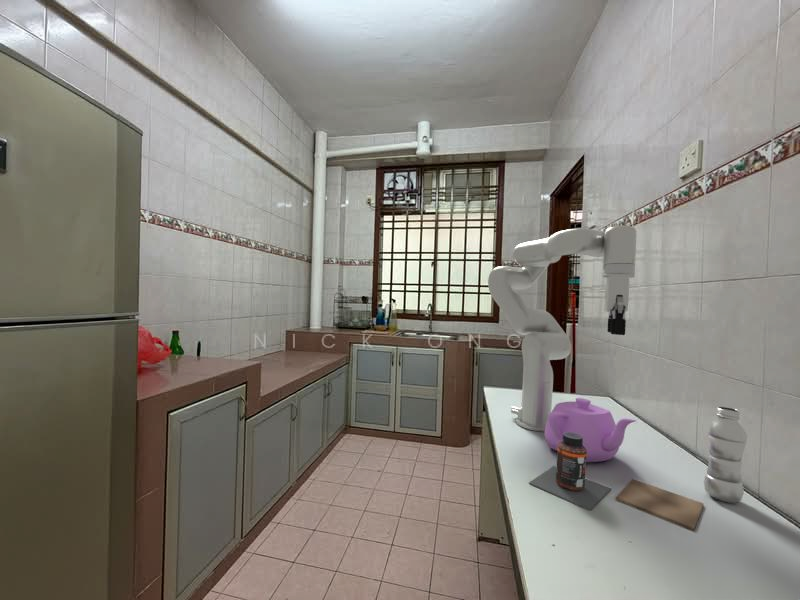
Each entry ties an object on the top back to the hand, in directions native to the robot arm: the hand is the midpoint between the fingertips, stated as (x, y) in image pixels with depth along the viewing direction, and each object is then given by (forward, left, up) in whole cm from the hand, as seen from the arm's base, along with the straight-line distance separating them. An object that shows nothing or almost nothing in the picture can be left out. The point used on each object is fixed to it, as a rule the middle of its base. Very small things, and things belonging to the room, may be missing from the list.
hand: (615, 333), depth 98 cm
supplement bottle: (0, -26, -34) cm, 43 cm away
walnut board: (+15, -17, -34) cm, 41 cm away
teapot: (-5, -4, -34) cm, 35 cm away
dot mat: (0, -26, -34) cm, 43 cm away
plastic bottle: (+24, -3, -34) cm, 42 cm away
